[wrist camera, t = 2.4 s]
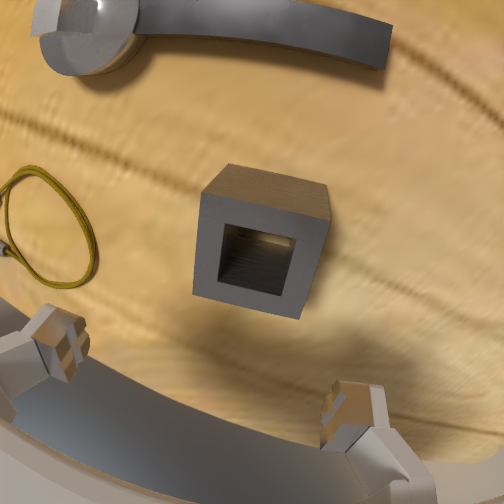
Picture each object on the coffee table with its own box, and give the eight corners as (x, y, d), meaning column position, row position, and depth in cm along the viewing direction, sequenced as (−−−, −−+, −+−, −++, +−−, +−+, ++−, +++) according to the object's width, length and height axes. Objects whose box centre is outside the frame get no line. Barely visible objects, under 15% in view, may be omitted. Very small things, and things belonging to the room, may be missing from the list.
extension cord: (-15, 133, 20) (-30, 139, 18) (112, 201, 21) (97, 213, 19) (-15, 238, 26) (-27, 247, 24) (91, 312, 27) (81, 325, 25)
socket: (326, 184, 18) (331, 221, 13) (302, 267, 20) (299, 319, 16) (228, 163, 18) (201, 192, 14) (217, 247, 21) (192, 294, 16)
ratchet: (389, -4, 11) (420, -35, 7) (367, 110, 15) (392, 122, 10) (73, -17, 13) (16, -27, 8) (59, 75, 16) (-1, 85, 12)
